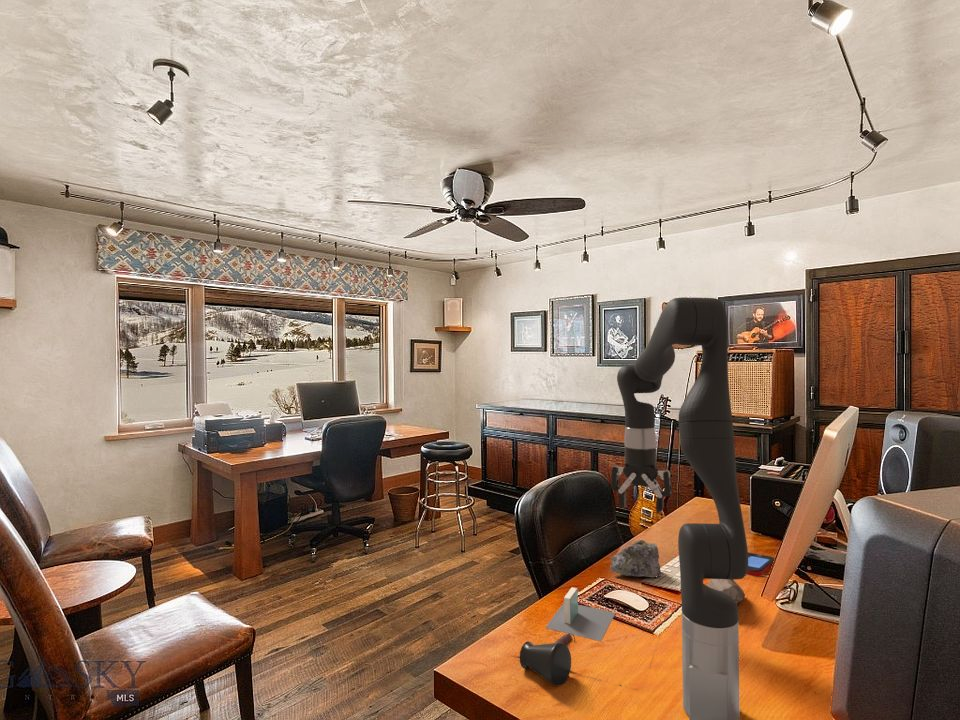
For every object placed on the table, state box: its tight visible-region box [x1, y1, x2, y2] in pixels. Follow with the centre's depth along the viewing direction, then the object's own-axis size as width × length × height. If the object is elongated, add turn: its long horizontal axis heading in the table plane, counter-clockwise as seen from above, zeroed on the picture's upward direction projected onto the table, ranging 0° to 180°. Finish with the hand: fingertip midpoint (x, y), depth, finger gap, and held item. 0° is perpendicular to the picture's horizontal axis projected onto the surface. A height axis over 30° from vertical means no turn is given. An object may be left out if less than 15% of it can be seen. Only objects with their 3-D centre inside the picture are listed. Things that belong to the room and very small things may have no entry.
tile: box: [563, 586, 579, 624], centre depth 125 cm, size 6×2×6 cm, turn 152°
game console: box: [746, 551, 776, 577], centre depth 156 cm, size 14×13×2 cm
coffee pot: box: [519, 633, 576, 687], centre depth 108 cm, size 8×18×8 cm
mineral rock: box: [609, 539, 662, 578], centre depth 150 cm, size 13×11×10 cm
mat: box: [545, 602, 616, 642], centre depth 124 cm, size 14×13×1 cm
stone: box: [706, 579, 746, 605], centre depth 131 cm, size 15×9×10 cm
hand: (641, 509), depth 130 cm, fingers open, 8 cm apart
